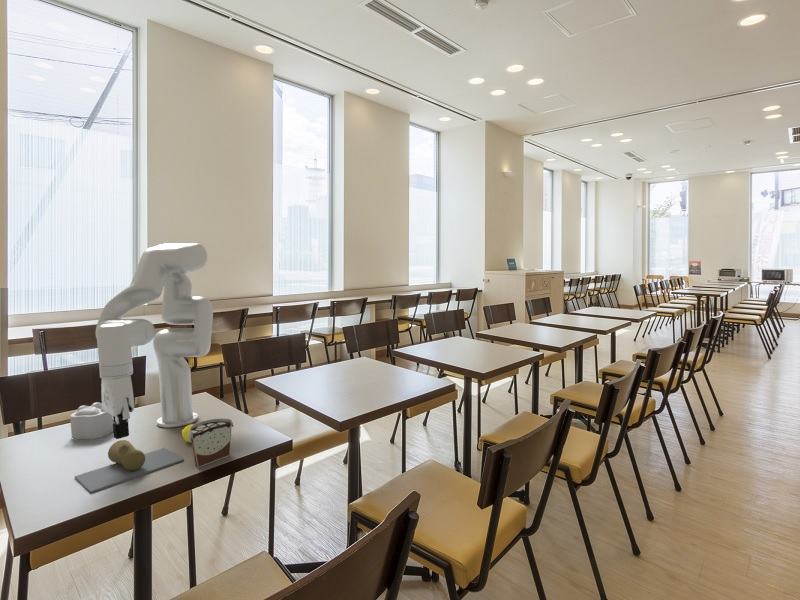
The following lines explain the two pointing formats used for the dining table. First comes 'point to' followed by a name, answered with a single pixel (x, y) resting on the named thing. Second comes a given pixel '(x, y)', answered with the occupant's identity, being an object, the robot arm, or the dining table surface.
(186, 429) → the lemon
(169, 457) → the mat
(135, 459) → the cork
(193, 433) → the food container
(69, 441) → the dining table surface
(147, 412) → the dining table surface
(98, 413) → the lumpy-topped squat cylinder
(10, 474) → the dining table surface
